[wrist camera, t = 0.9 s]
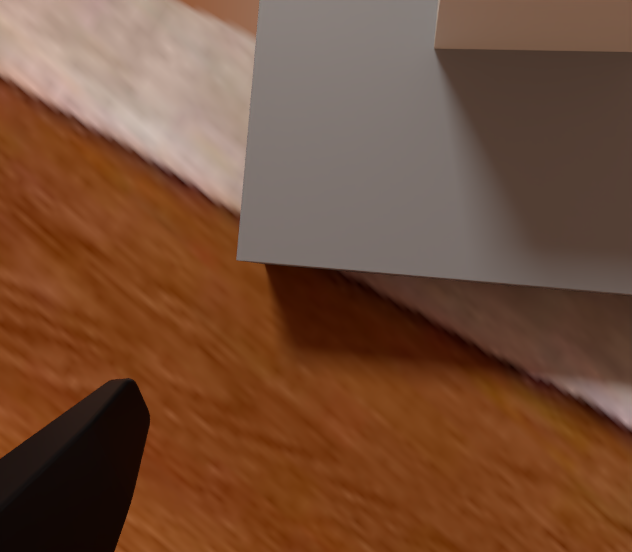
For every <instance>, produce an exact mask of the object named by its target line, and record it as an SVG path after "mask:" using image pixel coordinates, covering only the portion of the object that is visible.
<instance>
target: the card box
mask: <svg viewBox="0 0 632 552" xmlns="http://www.w3.org/2000/svg"><path fill="white" fill-rule="evenodd" d="M434 49H488V50H545V51H602V52H632V0H438V8H437V19H436V31H435V42H434Z"/></svg>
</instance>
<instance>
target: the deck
mask: <svg viewBox="0 0 632 552" xmlns="http://www.w3.org/2000/svg"><path fill="white" fill-rule="evenodd" d="M437 8H438V0H260V2H259V13H258V24H257V35H256V46H255V58H254V69H253V80H252V91H251V103H250V114H249V125H248V136H247V148H246V159H245V170H244V181H243V193H242V204H241V215H240V226H239V238H238V249H237V260H240V261H247V262H254V263H261V264H271V265H282V266H294V267H305V268H317V269H328V270H340V271H351V272H363V273H374V274H386V275H397V276H409V277H421V278H432V279H444V280H455V281H467V282H478V283H490V284H501V285H513V286H524V287H536V288H547V289H559V290H570V291H582V292H593V293H605V294H616V295H628V296H632V52H602V51H545V50H488V49H434V42H435V31H436V19H437Z"/></svg>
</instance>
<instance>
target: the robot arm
mask: <svg viewBox="0 0 632 552" xmlns="http://www.w3.org/2000/svg"><path fill="white" fill-rule="evenodd" d="M149 425H150V415H149V411H148V408H147V406H146V404H145V401H144V399H143V397H142V395H141V392H140V390H139V388H138V386H137V384H136V382H135V381H134V380H133V379H130V378H126V379H115V380H110V381H108V382H107V383H105V384H104V385H102V386H101V387H100V388H98V389H97V390H95V391H94V392H93V393H91V394H90V395H89V396H87V397H86V398H84V399H83V400H82V401H80V402H79V403H77V404H76V405H75V406H73V407H72V408H70V409H69V410H68V411H66V412H65V413H63V414H62V415H61V416H59V417H58V418H56V419H55V420H54V421H52V422H51V423H50V424H48V425H47V426H45V427H44V428H43V429H41V430H40V431H38V432H37V433H36V434H34V435H33V436H31V437H30V438H29V439H27V440H26V441H24V442H23V443H22V444H20V445H19V446H18V447H16V448H15V449H13V450H12V451H11V452H9V453H8V454H6V455H5V456H4V457H2V458H1V459H0V552H114V551H115V548H116V545H117V542H118V539H119V536H120V534H121V531H122V528H123V525H124V522H125V519H126V516H127V513H128V510H129V507H130V504H131V500H132V497H133V493H134V489H135V485H136V481H137V477H138V472H139V468H140V464H141V459H142V455H143V451H144V447H145V442H146V438H147V434H148V430H149Z"/></svg>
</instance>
